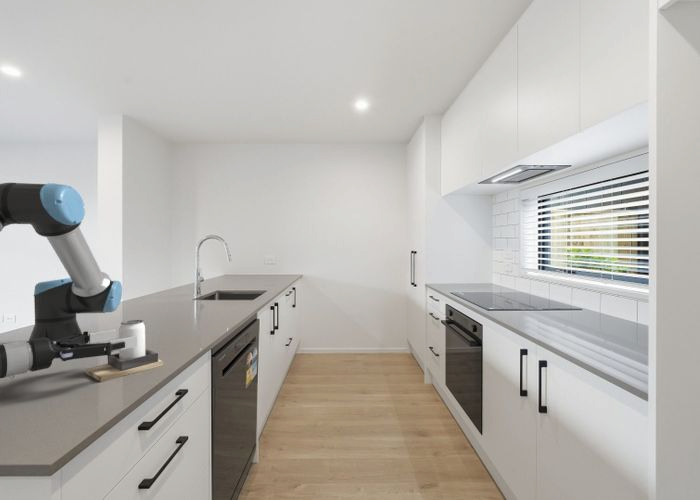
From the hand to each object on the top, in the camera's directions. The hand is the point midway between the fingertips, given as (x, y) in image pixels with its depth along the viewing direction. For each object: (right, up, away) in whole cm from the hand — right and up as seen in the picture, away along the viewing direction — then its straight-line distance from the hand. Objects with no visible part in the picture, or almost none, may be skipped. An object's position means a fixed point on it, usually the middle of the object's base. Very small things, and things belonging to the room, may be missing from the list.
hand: (125, 337), depth 103 cm
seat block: (0, -9, 0) cm, 9 cm away
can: (+1, -8, +2) cm, 8 cm away
